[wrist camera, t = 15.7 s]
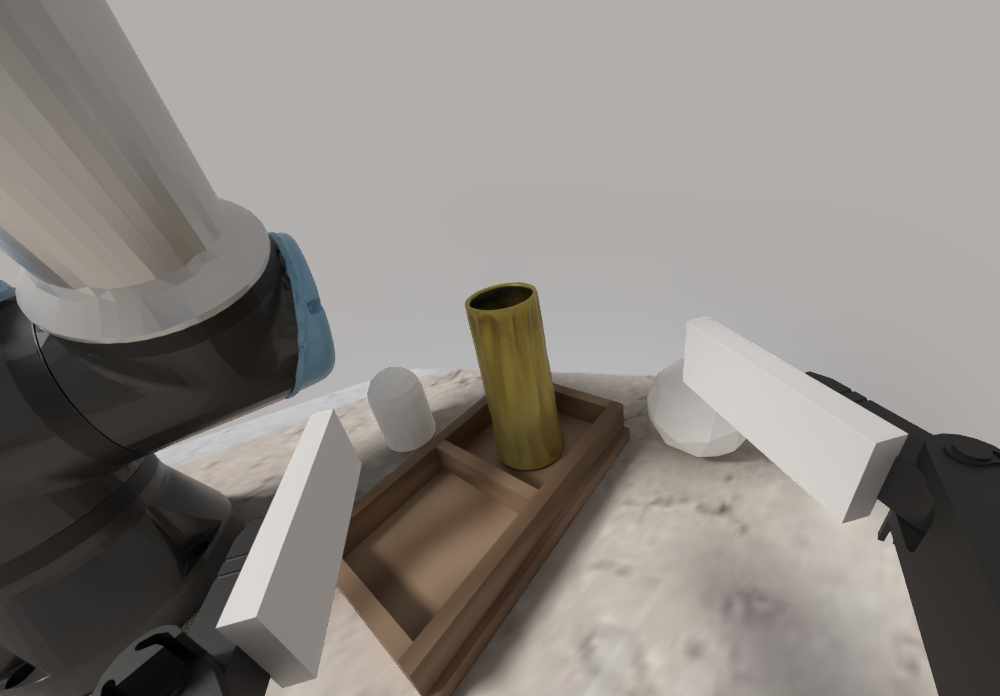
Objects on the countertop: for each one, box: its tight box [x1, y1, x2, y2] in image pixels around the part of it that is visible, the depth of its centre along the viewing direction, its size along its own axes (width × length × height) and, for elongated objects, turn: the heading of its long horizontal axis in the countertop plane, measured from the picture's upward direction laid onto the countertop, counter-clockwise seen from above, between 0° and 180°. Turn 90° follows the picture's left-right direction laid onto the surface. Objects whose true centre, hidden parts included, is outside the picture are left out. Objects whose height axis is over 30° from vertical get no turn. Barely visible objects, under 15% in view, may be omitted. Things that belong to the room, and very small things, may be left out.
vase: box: [465, 282, 564, 471], centre depth 29 cm, size 6×6×14 cm
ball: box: [647, 359, 746, 457], centre depth 30 cm, size 8×8×8 cm
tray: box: [336, 383, 630, 696], centre depth 29 cm, size 13×23×4 cm, turn 139°
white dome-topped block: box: [367, 367, 436, 452], centre depth 38 cm, size 5×5×8 cm
